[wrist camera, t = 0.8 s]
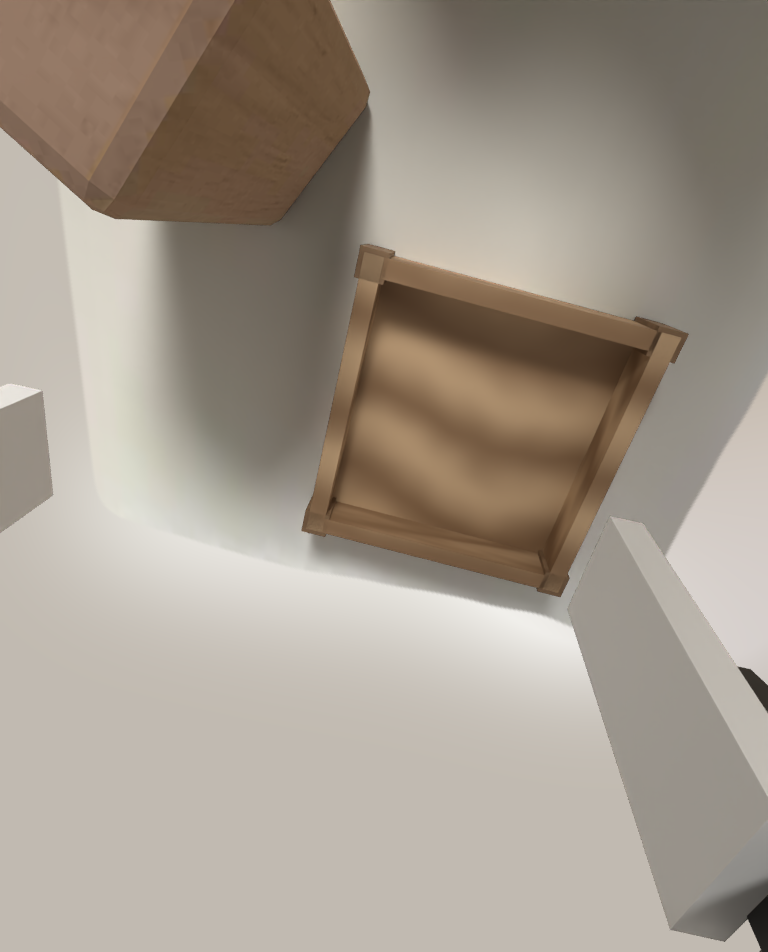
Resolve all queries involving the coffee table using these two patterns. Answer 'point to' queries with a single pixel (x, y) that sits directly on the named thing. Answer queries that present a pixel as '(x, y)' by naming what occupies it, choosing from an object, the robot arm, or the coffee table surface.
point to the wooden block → (179, 101)
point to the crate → (479, 420)
